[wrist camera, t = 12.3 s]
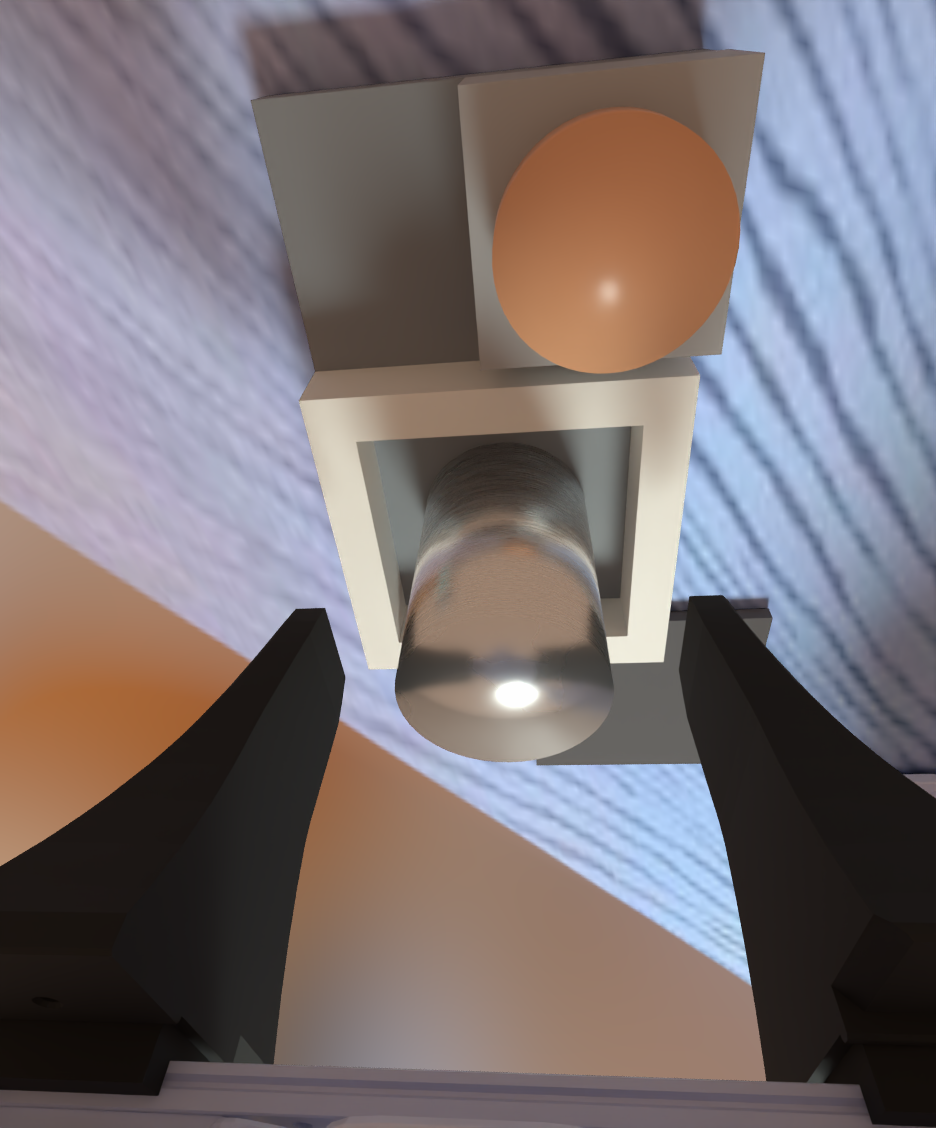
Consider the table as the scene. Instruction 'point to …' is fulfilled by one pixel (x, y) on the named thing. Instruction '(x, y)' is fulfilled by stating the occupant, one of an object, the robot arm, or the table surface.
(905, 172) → the table surface
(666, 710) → the mat
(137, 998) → the robot arm
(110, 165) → the table surface
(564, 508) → the billet
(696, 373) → the station
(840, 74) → the table surface
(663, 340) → the button
